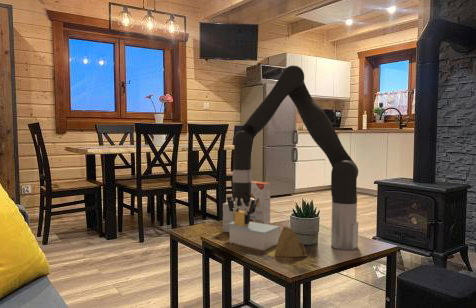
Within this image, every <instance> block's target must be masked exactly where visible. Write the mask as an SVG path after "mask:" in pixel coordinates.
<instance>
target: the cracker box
mask: <svg viewBox="0 0 476 308" xmlns="http://www.w3.org/2000/svg"><path fill="white" fill-rule="evenodd" d="M251 197H252V198H253V199H257V200H258V201H257V205H256V208H255V212H254V213H252V214H250V222H256V223H262V224H268V225H271V182H264V181H255V180H251ZM249 204H250V202H249ZM250 205H251V204H250ZM246 207H247V206H246Z"/></svg>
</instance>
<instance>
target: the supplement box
mask: <svg viewBox="0 0 476 308" xmlns="http://www.w3.org/2000/svg"><path fill="white" fill-rule="evenodd" d="M234 203H235V201H234ZM240 210H241V211H244V210H243V207H242V206H241V207H240V209H239V211H240ZM231 222H234V213H233V212H232V211H230V210H229V206H228V202H227V201H226V202H224V203H222V232H224V233H225V232H226V233H230V228H229V226H230V225H228V223H231Z"/></svg>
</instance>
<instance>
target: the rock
mask: <svg viewBox="0 0 476 308" xmlns="http://www.w3.org/2000/svg"><path fill="white" fill-rule="evenodd" d="M273 256H274V257H275V258H276V257H282V258H299V257H302V258H303V257H307V256H308V255H307V250H306V248H305V244H304V243H303V241H301V240H300V238H299V236H298V235H297V233H296V232H294V231H293V230H292V228H291V227H288V226H283V227H282V230H281V232H280V233H279V241H278V243H277V245H275V251H274V255H273Z"/></svg>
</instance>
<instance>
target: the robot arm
mask: <svg viewBox="0 0 476 308" xmlns="http://www.w3.org/2000/svg"><path fill="white" fill-rule="evenodd" d="M287 97H288V98H290V100H291V101H292V103H293V104H294V106H295V107H296V110H297V112H298V114H299V117H300V119H301V120H302V122H303V124H304V126H305V128H306V130H307V132H308V133H309V135H310V136H311V139H312V140H313V141H314V142H315V144H316V145H317V147H319V148H320V150H322V152H323V153H324V154H325V155H326V157H327V159H328V161H329V163H330V165H331V167H332V169H331V173H330V174H331V176H330V187H331V189H330V191H331V192H330V195H331V235H330V237H331V238H330V239H331V240H330V241H331V242H330V244H331V245H330V246H331V247H332V248H335V249H338V250H343V251H345V250H348V251H354V250H355V249H356V248H358V246H359V222H358V221H357V220H358V219H357V218H358V217H357V215H358V214H357V212H358V210H357V209H358V192H357V179H358V176H359V169H358V166H357V164H356V163H355V162H354V160H353V159H352V158H351V156H350V155H349V153H348V152H347V151H346V150H345V147H344V146H343V145H342V142H341V140H340V138H339V135H338V134H337V132H336V129H335V128H334V126H333V123H332V122H331V120H330V119H329V116H327V113H326V112H325V111H324V109H323V108H322V107H321V106H320V105H319V103H317V101H315V99H314V98H313V97H312V96H311V94H310V92H309V90H308V88H307V86H306V83H305V73H304V70H303V69H302V68H301V67H300V66H298V65H289V66H286V67H285V68H284V69H283V71H282V72H281V74H280V76H279V78H278V80H277V81H276V83H275V84H274V86H273V87H272V89H271V90H270V92H269V93H268V94H267V96H266V97H264V100H263V101H262V102H260V104H259V105H258V107H256V109H255V110H254V111H253V113H251V115H250V116H249V118H248V119H247V120H246V122H245V123H244V124H242V126H241V127H240V128H239V130H237V132H236V133H235V134H234V136H233V142H232V143H233V146H234V147H233V148H234V153H233V154H234V157H233V163H232V164H233V167H232V168H233V170H232V195H230V196H227V197H226V203H227V202H228V206H229V210H230V211H232V212H233V213H234V212H236V211H239V209H240V207H241V206H242V207H243V210H244V212H245V224H249V222H250V214H252V213H254V212H255V208H256V205H257V201H258V200H257V199H253V198H252V197H251V181H252V169H251V168H252V166H251V165H252V159H251V158H252V157H251V156H252V147H253V145H252V143H253V139H254V138H255V137H256V136H257V135H258V133H260V132H261V131H262V130H263V129H264V128H265V127H266V126H267V124H268V123H269V122H270V121H271V119H272V118H273V117H274V115H275V114H276V113H277V110H278V109H279V107H280V106H281V104H282V103H283V101H284V100H285V99H286V98H287ZM234 202H235V203H234ZM249 202H250V204H251V205H250V204H249ZM246 206H247V207H246Z"/></svg>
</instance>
